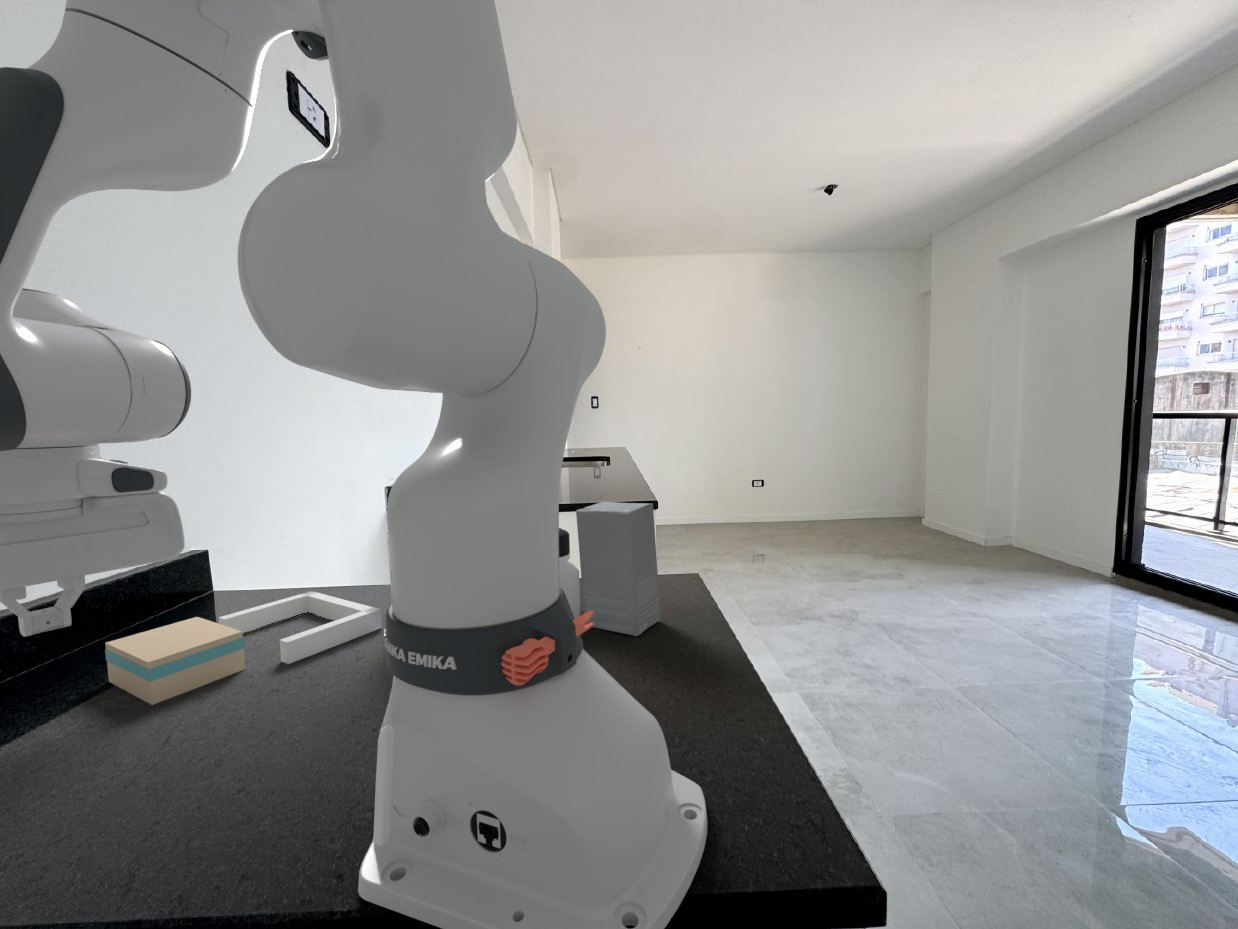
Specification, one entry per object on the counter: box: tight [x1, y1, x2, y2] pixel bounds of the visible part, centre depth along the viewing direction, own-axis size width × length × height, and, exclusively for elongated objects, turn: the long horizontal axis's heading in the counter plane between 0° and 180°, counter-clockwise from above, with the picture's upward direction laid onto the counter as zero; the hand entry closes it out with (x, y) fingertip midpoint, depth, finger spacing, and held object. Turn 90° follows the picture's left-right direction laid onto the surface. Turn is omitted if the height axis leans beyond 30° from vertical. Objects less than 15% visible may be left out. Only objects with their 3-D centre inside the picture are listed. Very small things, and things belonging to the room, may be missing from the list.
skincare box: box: [575, 501, 662, 637], centre depth 66 cm, size 8×7×16 cm
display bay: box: [218, 590, 382, 665], centre depth 66 cm, size 16×12×2 cm
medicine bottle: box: [559, 527, 581, 619], centre depth 69 cm, size 7×7×12 cm
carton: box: [104, 616, 246, 706], centre depth 54 cm, size 10×8×4 cm
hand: (46, 630), depth 47 cm, fingers closed
